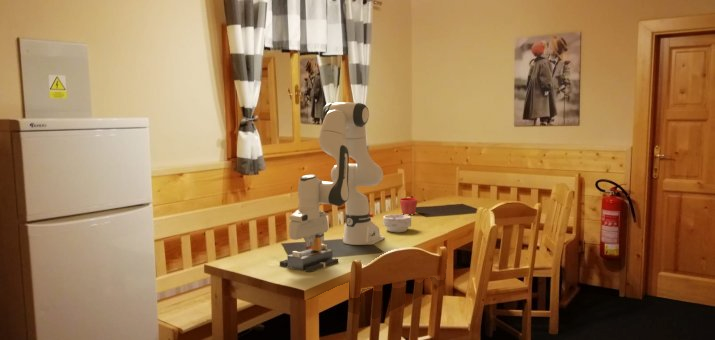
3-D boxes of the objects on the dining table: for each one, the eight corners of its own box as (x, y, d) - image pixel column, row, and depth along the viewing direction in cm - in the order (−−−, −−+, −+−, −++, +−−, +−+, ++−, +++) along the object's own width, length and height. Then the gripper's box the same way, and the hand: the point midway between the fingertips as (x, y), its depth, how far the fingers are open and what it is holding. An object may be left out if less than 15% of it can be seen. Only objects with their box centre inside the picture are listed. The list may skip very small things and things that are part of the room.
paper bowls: (404, 226, 305) (404, 212, 304) (415, 232, 290) (415, 217, 289) (379, 229, 300) (379, 214, 299) (389, 234, 286) (389, 219, 285)
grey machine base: (317, 258, 241) (316, 242, 240) (332, 261, 235) (332, 245, 235) (287, 267, 227) (287, 250, 226) (303, 271, 221) (302, 254, 221)
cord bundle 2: (334, 261, 234) (334, 257, 234) (338, 262, 233) (338, 258, 233) (305, 271, 221) (305, 267, 220) (309, 272, 219) (309, 268, 219)
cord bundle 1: (309, 256, 244) (309, 252, 244) (315, 257, 242) (315, 253, 241) (279, 265, 230) (279, 261, 230) (285, 266, 228) (285, 262, 228)
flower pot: (412, 216, 334) (412, 201, 333) (396, 215, 340) (396, 199, 339) (420, 213, 343) (420, 198, 342) (404, 212, 349) (404, 197, 348)
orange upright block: (313, 248, 236) (313, 233, 235) (321, 250, 233) (321, 235, 232) (310, 249, 234) (309, 234, 233) (318, 251, 231) (318, 236, 230)
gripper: (320, 209, 239) (321, 240, 240) (286, 216, 223) (287, 249, 225) (331, 210, 235) (331, 242, 236) (297, 218, 219) (298, 252, 221)
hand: (309, 246), depth 230 cm, fingers closed
